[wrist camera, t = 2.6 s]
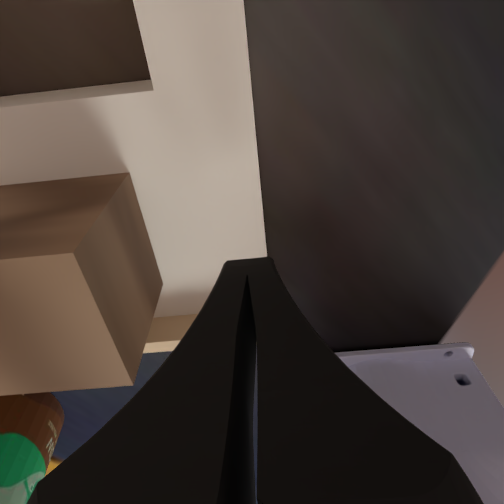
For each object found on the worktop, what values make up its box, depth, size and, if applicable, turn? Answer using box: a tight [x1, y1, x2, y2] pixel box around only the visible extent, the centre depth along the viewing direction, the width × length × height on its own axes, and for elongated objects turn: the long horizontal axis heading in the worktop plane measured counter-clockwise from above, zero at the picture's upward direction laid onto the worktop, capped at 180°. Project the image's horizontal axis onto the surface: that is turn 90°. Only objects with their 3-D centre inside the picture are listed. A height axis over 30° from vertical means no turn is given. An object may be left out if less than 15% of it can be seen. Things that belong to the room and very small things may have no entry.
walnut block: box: [0, 172, 163, 396], centre depth 12 cm, size 5×5×5 cm
